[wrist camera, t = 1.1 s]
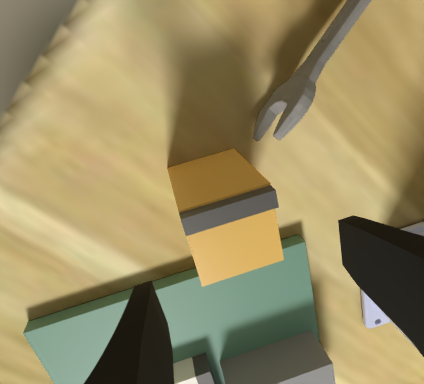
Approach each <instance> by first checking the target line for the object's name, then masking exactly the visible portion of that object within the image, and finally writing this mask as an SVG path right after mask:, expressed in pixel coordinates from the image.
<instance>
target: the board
mask: <svg viewBox="0 0 424 384" xmlns="http://www.w3.org/2000/svg"><path fill="white" fill-rule="evenodd" d="M281 246H282V251H283V257H284V260H282V261H279V262H276V263H273V264H270V265H267V266H264V267H261V268H258V269H255V270H252V271H249V272H246V273H243V274H240V275H237V276H234V277H231V278H228V279H225V280H221V281H218V282H215V283H212V284H209V285H206V286H203V287H202V285H201V281H200V278H199V275H198V272H197V269H196V268H193V269H190V270H187V271H184V272H181V273H177V274H174V275H171V276H168V277H165V278H162V279H159V280H156V281H153V282H152V283H153V286H154V289H155V291H156V294H157V296H158V299H159V302H160V304H161V307H162V309H163V312H164V315H165V317H166V320H167V322H168V327H169V332H170V338H171V344H172V351H173V368H174V384H335V377H334V370H333V363H332V362H331V360H330V358H329V357H328V355H327V354H326V352H325V351H324V349H323V347H322V346H321V344H320V339H319V332H318V326H317V319H316V312H315V306H314V299H313V292H312V286H311V279H310V272H309V265H308V259H307V252H306V245H305V241H304V240H303V239H302V238H301V237H300V236H299V235H295V236H292V237H289V238H286V239H283V240H281ZM132 290H133V288H131V289H128V290H125V291H122V292H119V293H115V294H112V295H109V296H106V297H103V298H100V299H97V300H94V301H91V302H87V303H84V304H81V305H78V306H75V307H72V308H69V309H66V310H63V311H60V312H56V313H53V314H50V315H47V316H44V317H41V318H38V319H35V320H32V321H28V323H27V325H26V328H25V330H24V333H23V334H24V336H25V337H26V339H27V341H28V342H29V344H30V345H31V347H32V349H33V350H34V352H35V353H36V355H37V357H38V358H39V360H40V361H41V363H42V365H43V366H44V368H45V369H46V371H47V373H48V374H49V376H50V378H51V379H52V381H53V382H54V384H84V382H85V381H86V380H87V378H88V376H89V375H90V373H91V372H92V370H93V369H94V367H95V366H96V364H97V362H98V361H99V359H100V357H101V355H102V354H103V352H104V350H105V348H106V346H107V344H108V343H109V341H110V339H111V337H112V335H113V333H114V331H115V329H116V327H117V325H118V323H119V321H120V318H121V316H122V314H123V312H124V310H125V307H126V305H127V303H128V300H129V298H130V295H131V293H132Z"/></svg>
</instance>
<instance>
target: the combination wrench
mask: <svg viewBox="0 0 424 384" xmlns="http://www.w3.org/2000/svg"><path fill="white" fill-rule="evenodd" d="M370 2H371V0H347V1H346V3H345V4H344V6H343V7H342V9H341V10H340V11H339V13H338V14H337V16H336V17H335V19H334V20H333V21H332V23H331V24H330V26H329V27H328V29H327V30H326V31H325V33H324V34H323V36H322V37H321V39H320V40H319V42H318V43H317V44H316V46H315V47H314V49H313V50H312V52H311V53H310V55H309V56H308V57H307V59H306V60H305V61H304V63H303V64H302V65H301V66H300V67H299V68H298V69H297V71H296V72H295V73H294V74H293V75H292V76H291V77H290V78H289V80H288V81H287V82H285V83H283V84H282V85H280V86H279V87H278V88H277V89H276V90H275V91H274V93H273V94H272V95H271V97H270V98H269V100H268V101H267V102H266V104H265V105H264V107H263V108H262V110H261V111H260V112H259V115H258V118H257V121H256V124H255V129H254V133H253V139H255V140H256V141H259V140H260V139H261V138H262V137H263V135H264V134H265V133H266V131H267V130H268V128H269V127H270V126H271V124H272V122H273V121H274V119H275V118H276V116H277V115H278V114H279V113H281V112H282V111H283V110H284V112H283V114H282V116H281V118H280V120H279V122H278V124H277V127H276V129H275V131H274V134H273V136H274V137H275V138H276V139H278V140H281V139H282V138H283V137H284V136H285V135H286V134H287V133H288V132H290V131H291V130H292V129H293V128H294V127H295V125H296V124H297V123H298V122H299V121H300V120H301V119H302V118H303V116H304V115H305V114H306V112H307V111H308V109H309V107H310V106H311V104H312V102H313V99H314V96H315V91H316V86H315V83H316V81H317V79H318V77H319V75H320V73H321V71H322V70H323V68H324V66H325V64H326V63H327V61H328V60H329V59H330V57H331V56H332V54H333V53H334V52H335V50H336V49H337V48H338V46H339V45H340V43H341V42H342V41H343V39H344V38H345V36H346V35H347V34H348V32H349V31H350V29H351V28H352V27H353V25H354V24H355V23H356V21H357V20H358V18H359V17H360V16H361V14H362V13H363V11H364V10H365V9H366V7H367V6H368V4H369V3H370Z"/></svg>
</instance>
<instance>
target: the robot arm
mask: <svg viewBox="0 0 424 384" xmlns="http://www.w3.org/2000/svg"><path fill="white" fill-rule="evenodd" d="M338 223H339V233H340V243H341V253H342V263H343V266H344V267H345V269H346V270H347V271H348V273H349V274H350V276H351V277H352V278H353V280H354V281H355V282H356V284H357V285H358V286H359V287H360V288H361V297H362V310H363V323H364V325H365V326H366V327H367V328H369V329H370V328H374V327H377V326H380V325H383V324H385V323H388V322H392V323H393V324H394V325H395V326H396V327H397V328H398V329H399V331H400V332H401V333H402V334H403V335H404V336H405V337H406V338H407V339H408V340H409V341H410V342H411V343H412V344H413V345H414V346H415V347H416V348H417V349H418V350H419V352H420V353H421V354H422V355H423V357H424V221H423V222H420V223H417V224H414V225H411V226H408V227H405V228H402V229H398V228H394V227H391V226H388V225H385V224H381V223H378V222H375V221H372V220H368V219H365V218H361V217H357V216H350V217H347V218H344V219H341V220H338ZM84 384H174V368H173V351H172V344H171V338H170V332H169V327H168V322H167V320H166V317H165V315H164V312H163V309H162V307H161V304H160V302H159V299H158V296H157V294H156V291H155V289H154V286H153V283H152V281H149V282H146V283H143V284H140V285H137V286H135V287H134V288H133V290H132V293H131V295H130V298H129V300H128V303H127V305H126V307H125V310H124V312H123V314H122V316H121V318H120V321H119V323H118V325H117V327H116V329H115V331H114V333H113V335H112V337H111V339H110V341H109V343H108V344H107V346H106V348H105V350H104V352H103V354H102V355H101V357H100V359H99V361H98V362H97V364H96V366H95V367H94V369H93V370H92V372H91V373H90V375H89V376H88V378H87V380H86V381H85V382H84Z"/></svg>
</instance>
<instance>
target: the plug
mask: <svg viewBox="0 0 424 384" xmlns="http://www.w3.org/2000/svg"><path fill="white" fill-rule="evenodd" d="M167 169H168V173H169V176H170V180H171V184H172V188H173V192H174V196H175V199H176V203H177V207H178V211H179V214H180V218H181V222H182V225H183V228H184V231H185V234H186V237H187V240H188V243H189V246H190V249H191V253H192V256H193V259H194V262H195V265H196V269H197V272H198V275H199V278H200V281H201V285H202V287H203V286H206V285H209V284H212V283H215V282H218V281H221V280H225V279H228V278H231V277H234V276H237V275H240V274H243V273H246V272H249V271H252V270H255V269H258V268H261V267H264V266H267V265H270V264H273V263H276V262H279V261H282V260H284V257H283V251H282V246H281V240H280V235H279V229H278V224H277V218H276V213H275V208H278V207H279V206H278V201H277V195H276V190H275V189H274V188H273V187H272V186H271V185H270V182H269V181H267V180H266V179H265V178H264V177H263V176H262V175H261V174H260V173H259V172H258V171H257V170H256V169H255V168H254V167H253V166H252V165H251V164H250V163H249V162H248V161H247V160H246V159H244V158H243V157H242V156H241V155H240V154H239V153H238V152H237V151H236V150H235V149H234V148H233V149H230V150H227V151H223V152H220V153H216V154H213V155H209V156H206V157H203V158H199V159H196V160H192V161H189V162H186V163H182V164H179V165H175V166H172V167H168V168H167Z"/></svg>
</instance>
